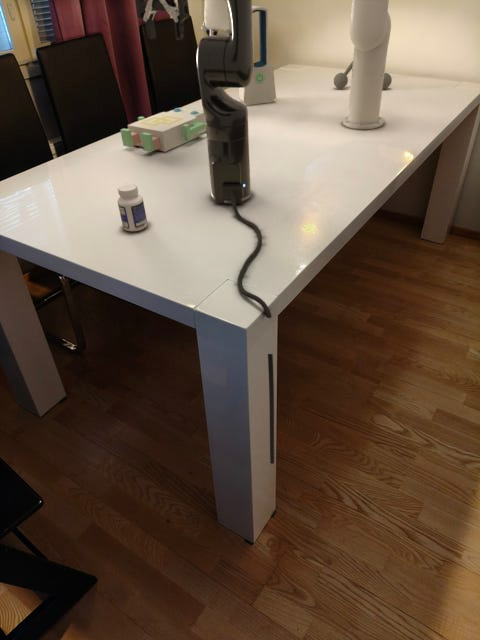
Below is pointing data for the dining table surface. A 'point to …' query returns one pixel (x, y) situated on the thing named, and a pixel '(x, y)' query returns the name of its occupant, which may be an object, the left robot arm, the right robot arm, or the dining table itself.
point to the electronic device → (260, 68)
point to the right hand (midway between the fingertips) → (222, 53)
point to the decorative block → (164, 130)
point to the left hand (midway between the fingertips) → (165, 39)
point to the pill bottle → (131, 208)
